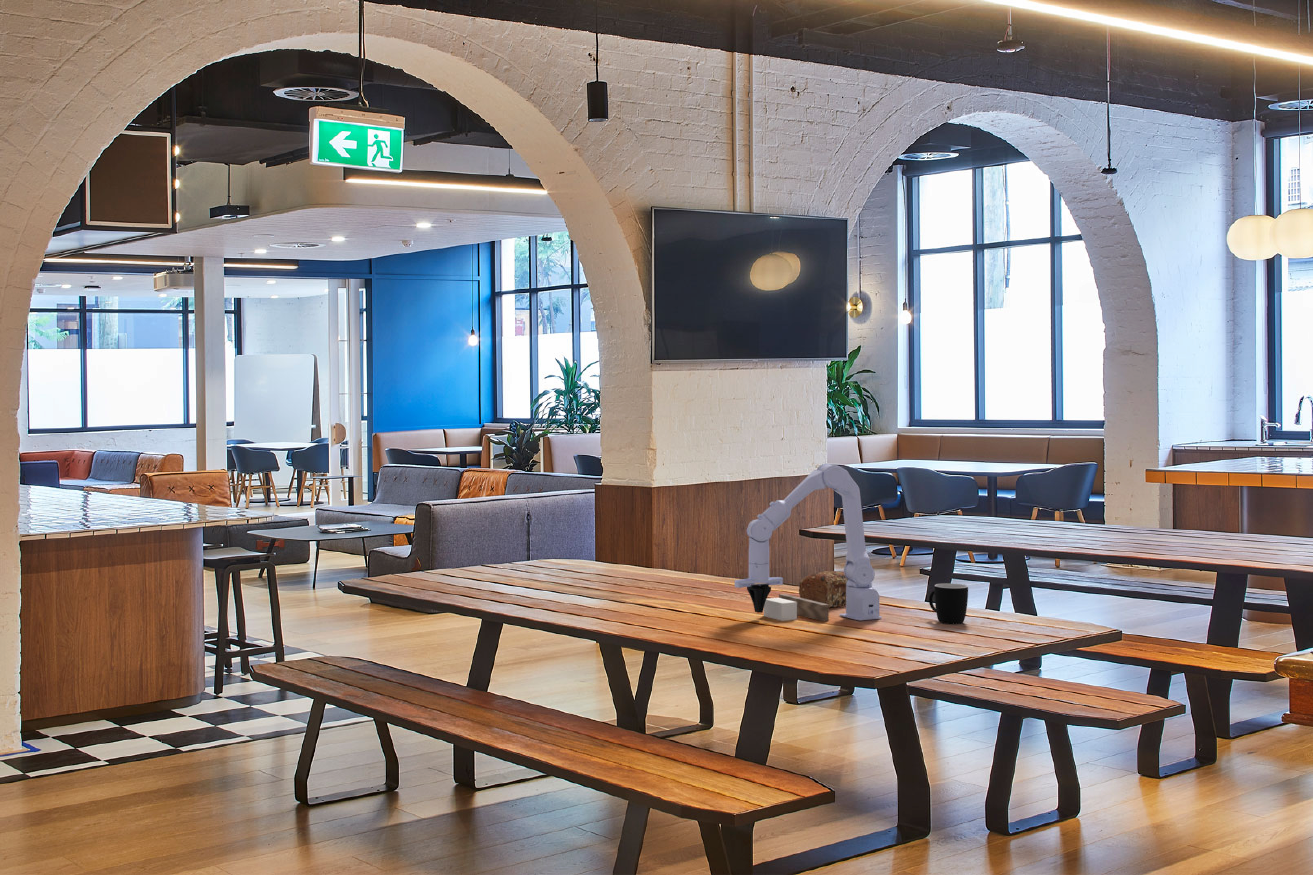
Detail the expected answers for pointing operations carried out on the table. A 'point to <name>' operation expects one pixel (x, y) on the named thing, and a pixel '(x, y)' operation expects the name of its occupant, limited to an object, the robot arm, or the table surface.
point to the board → (809, 607)
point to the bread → (825, 588)
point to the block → (780, 609)
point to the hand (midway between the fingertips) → (758, 612)
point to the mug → (950, 602)
